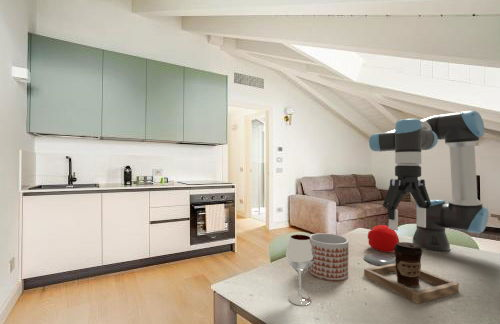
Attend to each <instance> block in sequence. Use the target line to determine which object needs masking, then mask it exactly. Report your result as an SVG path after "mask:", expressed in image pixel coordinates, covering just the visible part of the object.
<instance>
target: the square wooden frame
mask: <svg viewBox="0 0 500 324" xmlns="http://www.w3.org/2000/svg"><path fill="white" fill-rule="evenodd" d="M392 273H397V272H396V263H394V264H388V265H383V266H378V265H376V266H373V267H368V268H367V267H366V268H364V269H363V276H364V277H365V278H367V279H369V280H371V281H373V282H375V283H377V284H379V285H380V286H383V287H384V288H387V289H388V290H390V291H392V292H394V293H396V294H397V295H400V296H401V297H403V298H405V299H408V300H410V301H411V302H414V303H416V304H421V303H426V302H429V301H433V300H435V299H439V298H443V297H446V296H450V295H453V294H458V293H459V290H460V289H459V286H460V285H459V283H456V282H454V281H452V280H449V279H446V278H444V277H441V276H439V275H436V274H434V273H431V272H428V271H425V270H423V269H420V274H419V275H420V276H419V278H418V279H422V280H424V281H425V282H428V283H430V284H432V285H436V286H432V287H430V288H429V287H427V288H425V289H421V290H414V289H411V287H408V286H405V285H402V284H400V283H398V281H395V280H393V279H391V278H388V277H387V276H384V275H387V274H388V275H389V274H392Z"/></svg>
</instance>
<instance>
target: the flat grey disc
mask: <svg viewBox="0 0 500 324" xmlns="http://www.w3.org/2000/svg"><path fill="white" fill-rule="evenodd" d="M363 259H364V261H366V262H367V263H370V264H371V265H373V266H374V265H375V266H383V265H388V264H394V263H396V262H395V257H392V256H390V255H389V256H388V255H385V254H380V253H379V254H378V253H368V254H364V256H363Z"/></svg>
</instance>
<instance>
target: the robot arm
mask: <svg viewBox="0 0 500 324" xmlns="http://www.w3.org/2000/svg"><path fill="white" fill-rule="evenodd" d="M485 131H486V130H485V125H484V121H483V118H482V116H481V114H480V113H479V112H478V111H477V110H465V111H457V112H452V113H445V114H444V113H443V114H438V115H433V116H428V117H427V118H423V119H419V118H404V119H400V120H397V121H396V122H395V126H394V129H393V130H389V131H385V132H378V133H373V134H372V135H371V136H369V139H368V145H369V148H370V150H371V151H372V152H393V151H394V155H395V157H394V164H395V166H394V175H395V177H397V179H396V178H391V179H390V180H389V186H388V189H387V192H386V195H385V198H384V201H383V203H382V208H384V209H386V210H387V220H388V227H389V229H392V230H394V231H395V232H396V231H399V210H398V209H397V208H398V206H399V205H400V203H401V201H402V199H403V197H404V196H405V195H406V194H410V195H411V196H412V197H413V199H414V202H416V208H415V210H416V211H415V212H416V213H415V214H416V218H415V220H416V221H415V222H416V227H415V228H416V229H415V232H414V234H413V237H412V239H411V240H412V242H411V243H413V244H417V245H419V246H420V247H421V249H426V250H429V251H430V250H431V251H437V252H447V251H450V250H451V245H450V242H449V239H448V237H447V233H446V229H452V230H455V231H456V230H457V231H462V232H467V233H473V234H474V233H475V234H481V233H483V232H484V231H485V229H486V228H487V225H488V220H489V209H488V207H485V206H483V201H481V200H479V199H478V189H477V187H478V185H477V184H478V183H477V170H476V169H477V165H476V146H475V145H476V144H478V143H479V142H480V138H481V137H484V136H485ZM439 140H444V143H445V145H447V146H448V147H449V162H450V163H449V164H450V181H451V195H452V196H451V198H450V199H449V200H448V203H446V200H444V199H430V197H429V193H428V191H427V188H426V180H425V179H421V176H422V166H421V165H422V151H428V150H431V149H433V148H434V147H436V146H437V144H438V141H439ZM419 178H420V179H419Z"/></svg>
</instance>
